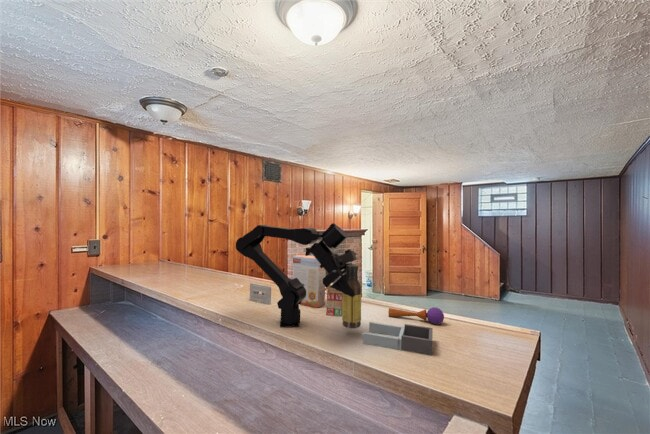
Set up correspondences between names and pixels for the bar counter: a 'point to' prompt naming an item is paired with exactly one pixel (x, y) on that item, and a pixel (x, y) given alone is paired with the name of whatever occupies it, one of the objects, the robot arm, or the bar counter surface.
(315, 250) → the robot arm
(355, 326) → the sauce bottle
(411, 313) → the kendama
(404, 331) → the grey compartment tray
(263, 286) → the cassette
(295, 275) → the cracker box
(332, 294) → the printed food box
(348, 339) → the bar counter surface
